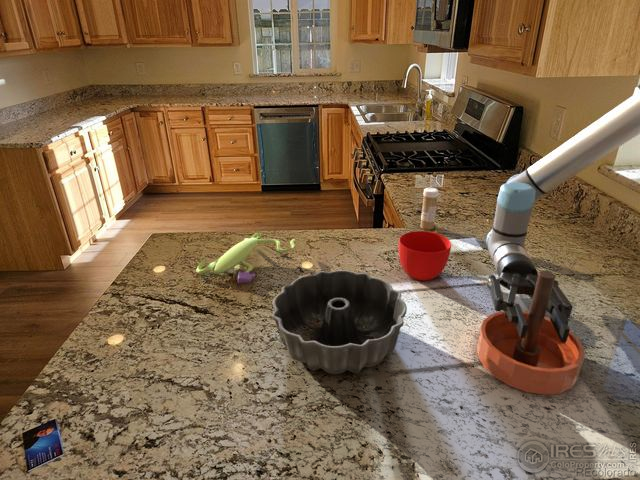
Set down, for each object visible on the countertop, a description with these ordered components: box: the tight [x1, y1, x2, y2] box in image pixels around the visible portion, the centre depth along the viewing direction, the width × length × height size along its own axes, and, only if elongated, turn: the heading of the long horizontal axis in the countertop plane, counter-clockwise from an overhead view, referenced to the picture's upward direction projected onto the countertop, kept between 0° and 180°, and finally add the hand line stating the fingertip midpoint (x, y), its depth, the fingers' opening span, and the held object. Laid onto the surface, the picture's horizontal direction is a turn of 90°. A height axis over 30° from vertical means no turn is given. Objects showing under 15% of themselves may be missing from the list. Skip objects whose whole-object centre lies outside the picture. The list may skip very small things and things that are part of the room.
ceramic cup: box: [398, 230, 452, 282], centre depth 112 cm, size 13×17×10 cm
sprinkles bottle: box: [419, 187, 439, 231], centre depth 136 cm, size 5×5×13 cm
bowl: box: [476, 310, 586, 395], centre depth 81 cm, size 18×18×6 cm
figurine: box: [195, 232, 297, 284], centre depth 117 cm, size 18×27×6 cm
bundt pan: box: [271, 269, 408, 375], centre depth 86 cm, size 26×26×10 cm
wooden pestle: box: [513, 270, 556, 367], centre depth 78 cm, size 4×4×19 cm
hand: (544, 333), depth 73 cm, fingers open, 6 cm apart
